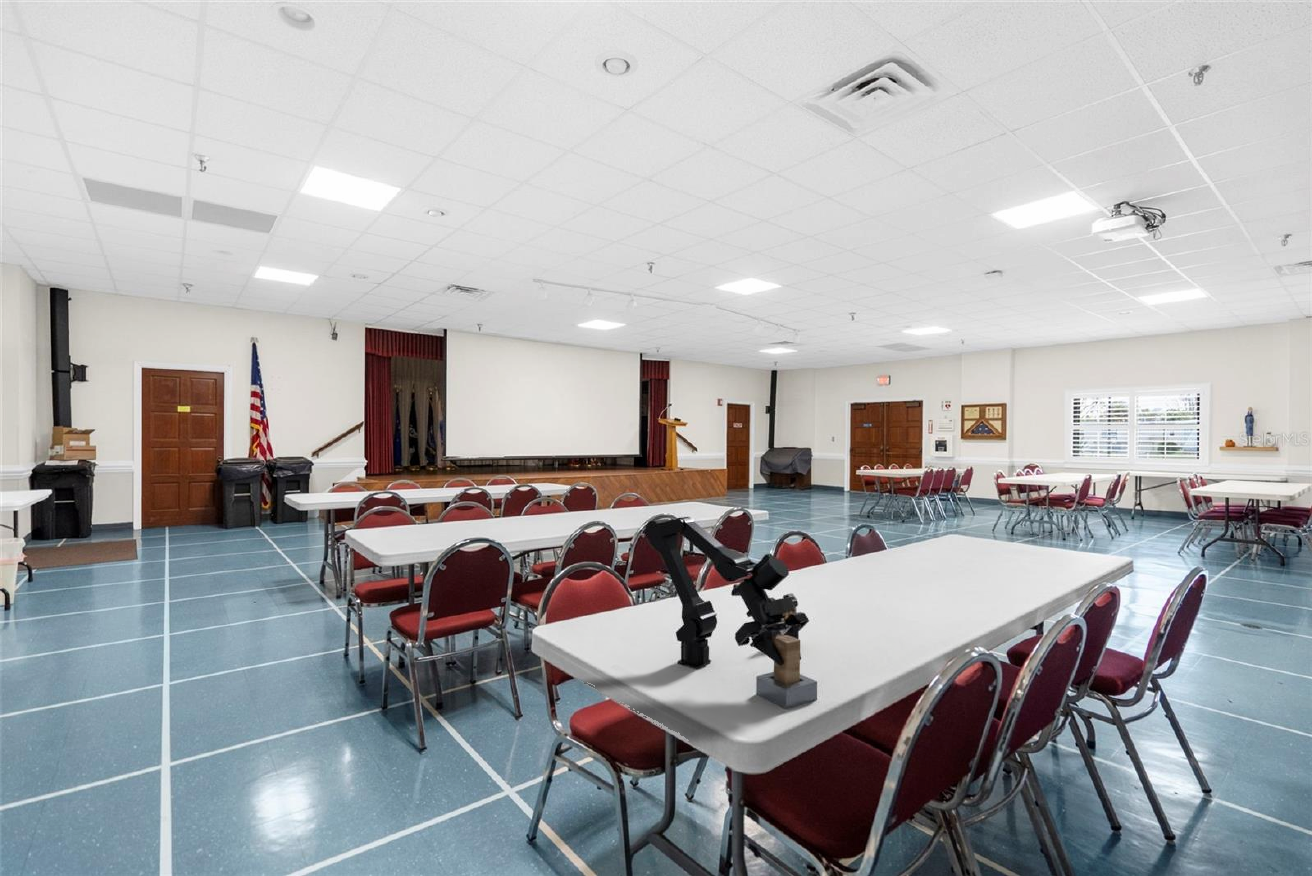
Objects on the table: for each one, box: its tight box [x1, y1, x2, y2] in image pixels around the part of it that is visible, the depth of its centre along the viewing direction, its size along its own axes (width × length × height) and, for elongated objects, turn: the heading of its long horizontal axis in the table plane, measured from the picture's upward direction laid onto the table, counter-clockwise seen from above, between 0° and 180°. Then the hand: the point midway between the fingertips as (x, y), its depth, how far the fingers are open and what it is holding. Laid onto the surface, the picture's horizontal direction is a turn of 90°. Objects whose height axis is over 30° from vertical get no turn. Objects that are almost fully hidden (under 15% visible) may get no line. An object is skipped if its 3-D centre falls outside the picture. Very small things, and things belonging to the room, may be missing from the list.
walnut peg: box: [773, 635, 801, 685], centre depth 137 cm, size 4×4×13 cm
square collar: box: [755, 671, 818, 710], centre depth 138 cm, size 9×9×4 cm
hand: (791, 662), depth 136 cm, fingers open, 5 cm apart
